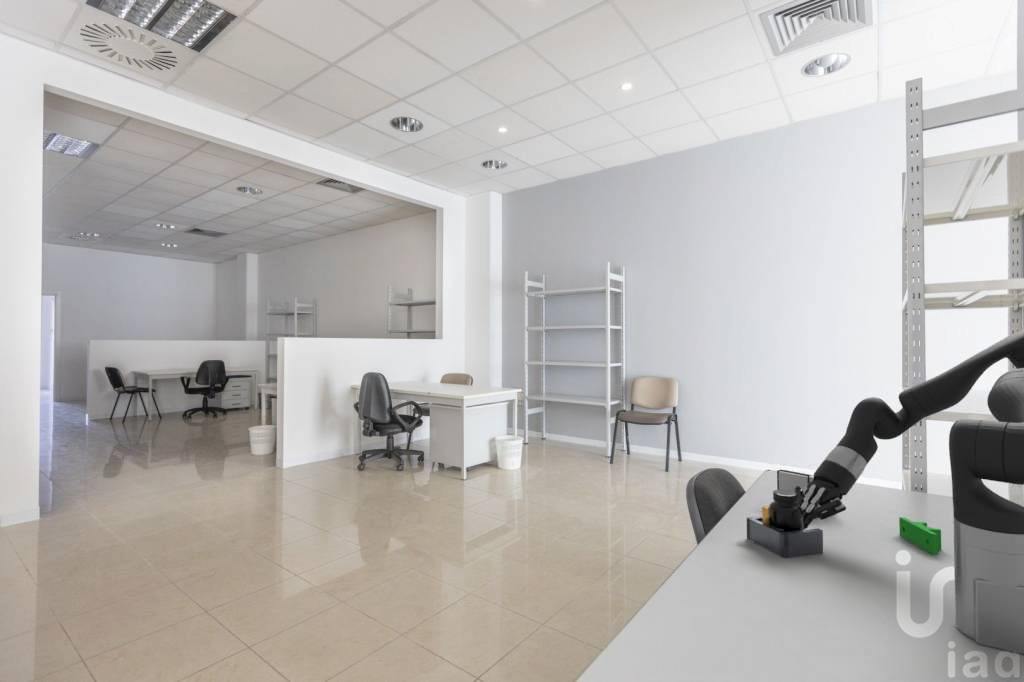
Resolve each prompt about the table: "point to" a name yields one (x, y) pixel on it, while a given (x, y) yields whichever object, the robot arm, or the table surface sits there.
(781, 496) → the supplement bottle
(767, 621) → the table surface
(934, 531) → the pipe clamp
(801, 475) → the hinge
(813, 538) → the keeper cradle
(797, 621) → the table surface
